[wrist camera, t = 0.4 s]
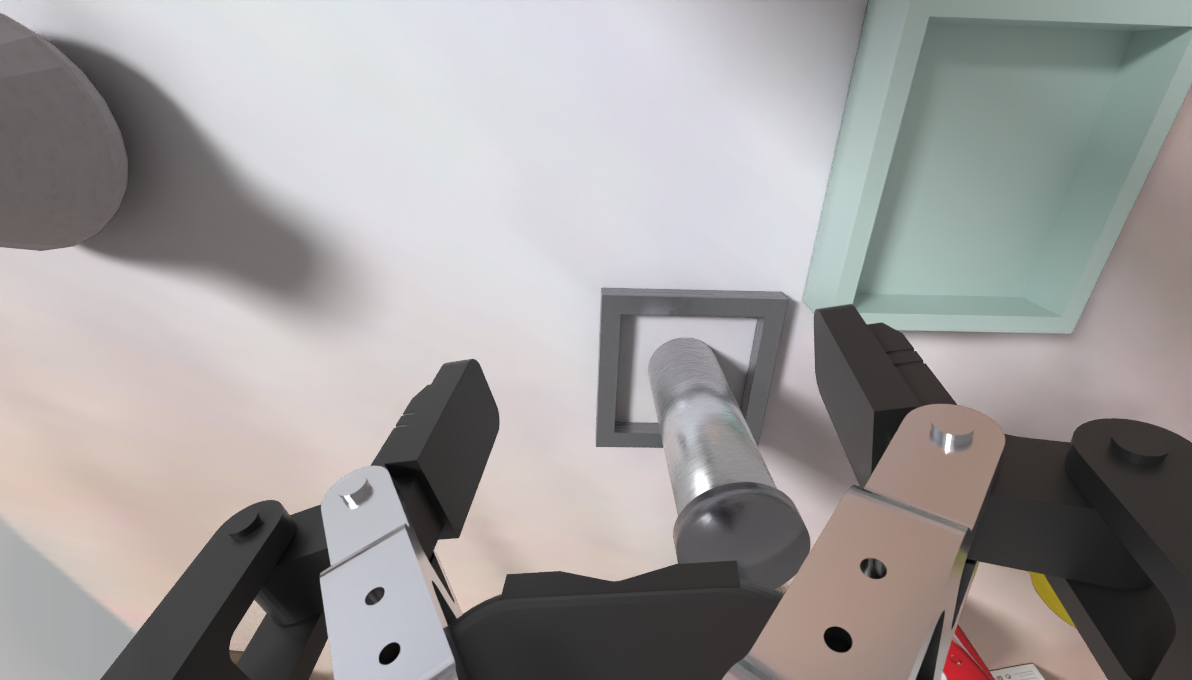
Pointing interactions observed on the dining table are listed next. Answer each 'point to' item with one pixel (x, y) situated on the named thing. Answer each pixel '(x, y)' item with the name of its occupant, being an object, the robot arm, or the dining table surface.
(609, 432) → the gray square frame
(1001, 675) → the small box
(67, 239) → the coffee pot
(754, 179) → the dining table surface
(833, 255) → the bin
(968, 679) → the soda can
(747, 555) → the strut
